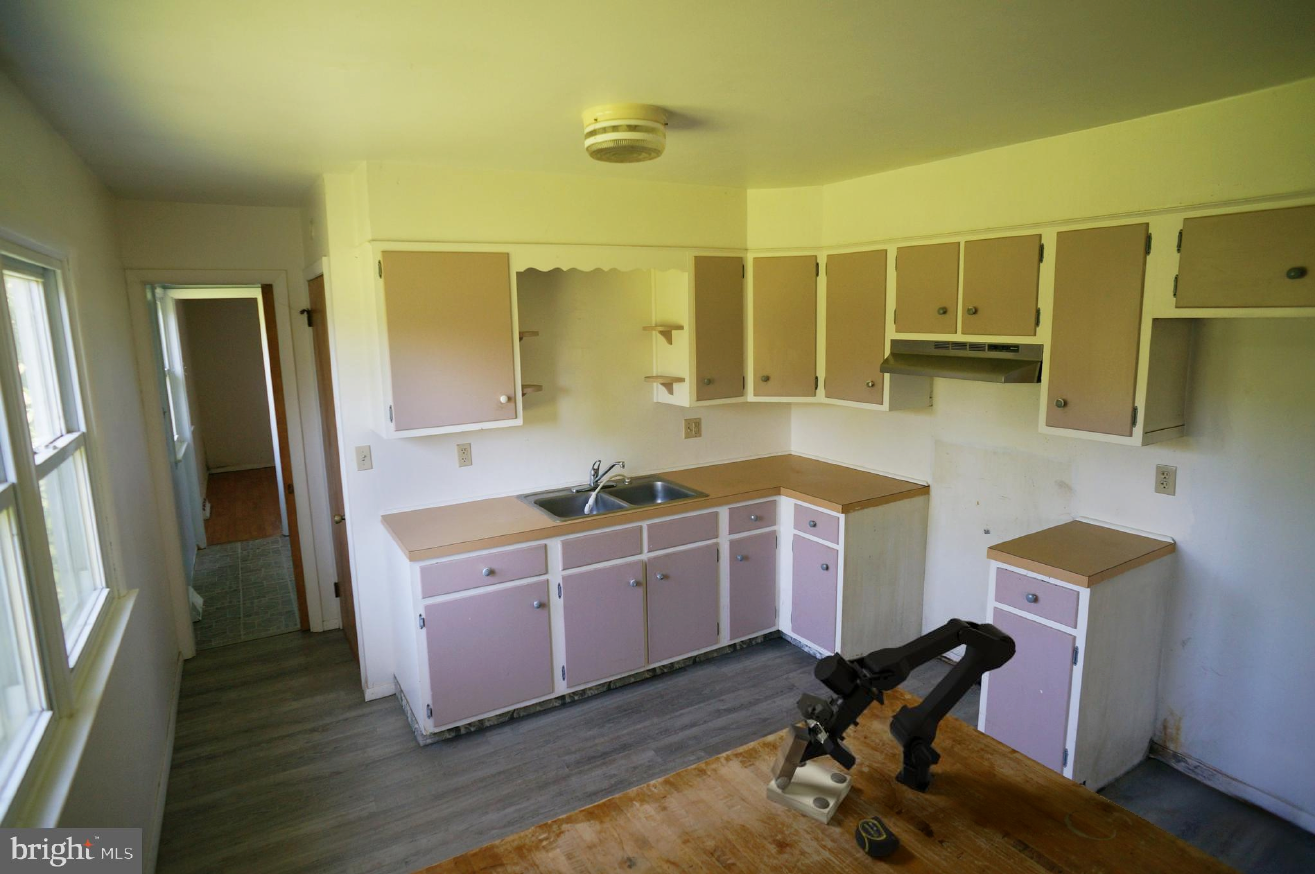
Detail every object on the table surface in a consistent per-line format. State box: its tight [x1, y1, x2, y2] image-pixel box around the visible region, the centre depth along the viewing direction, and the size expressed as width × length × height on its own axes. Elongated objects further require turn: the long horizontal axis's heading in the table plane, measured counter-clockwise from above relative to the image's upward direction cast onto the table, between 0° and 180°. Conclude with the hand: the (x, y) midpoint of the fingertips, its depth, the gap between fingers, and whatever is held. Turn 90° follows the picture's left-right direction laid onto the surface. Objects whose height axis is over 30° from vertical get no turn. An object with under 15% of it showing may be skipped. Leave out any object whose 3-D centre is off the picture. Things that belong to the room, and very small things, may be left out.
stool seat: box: [765, 760, 852, 825], centre depth 144 cm, size 13×13×3 cm
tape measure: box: [854, 815, 900, 857], centre depth 130 cm, size 7×7×4 cm
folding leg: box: [770, 723, 811, 790], centre depth 142 cm, size 3×3×12 cm
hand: (796, 761), depth 143 cm, fingers closed, pressing on folding leg
